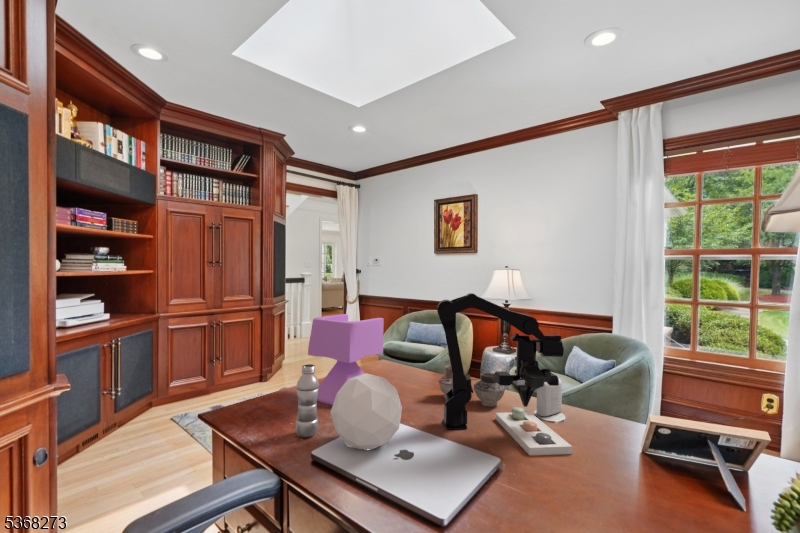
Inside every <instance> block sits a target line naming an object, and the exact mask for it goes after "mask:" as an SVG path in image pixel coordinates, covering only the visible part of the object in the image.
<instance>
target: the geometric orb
mask: <svg viewBox="0 0 800 533" xmlns="http://www.w3.org/2000/svg"><path fill="white" fill-rule="evenodd" d="M402 411H403V407H402V402H401V399H400V397H399V392H398V389H397V388H396V387H395V386H394V385H393V384H392V383H391V382H389V380H387V379H386V378H385V377H383V376H378V375H376V374H375V375H374V374H372V373H371V374H370V373H367V372H366V373H365V372H364V374H362V375H359V376H356V377H353V378H350V379H348V380H347V381H346V382H345V384H344V385H343V386H342V387H341V389H340V390H339V391H338V393H337V394H336V397H335V400H334V403H333V405H331V410H330V412H329V414H330V417H331V420H332V422H333V425H334V429H335V431H336V434H337V435H338V436H339V438H341V440H342V441H343V442H344V443H345V445H346V446H347V448H348V447H349V448H354V449H357V448H358V449H357V450H362V449H365V450H364V451H366V450H367V449H371V450H374V449H376V448H378V446H379V447H380V446H384V445H385V444H388V443H389V441H390V440H391V439H392V437H394V436H395V434H396V433H397V432H398V431H399V429H400V426H401V425H400V424H401V418H402ZM373 448H374V449H373Z"/></svg>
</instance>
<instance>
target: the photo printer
mask: <svg viewBox="0 0 800 533" xmlns="http://www.w3.org/2000/svg"><path fill="white" fill-rule="evenodd" d="M558 379H559V385H558V386H550V385H549V384H548V383H547V382H544V386H543V387H540V388H537V389H536V413H537V415H539V416H542V417H549V416H552V415H556V414H559V413H561V412H562V405H563V404H562V402H563V401H562V400H563V398H562V396H563V383H562V380H561V379H560V378H559V377H558Z"/></svg>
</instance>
